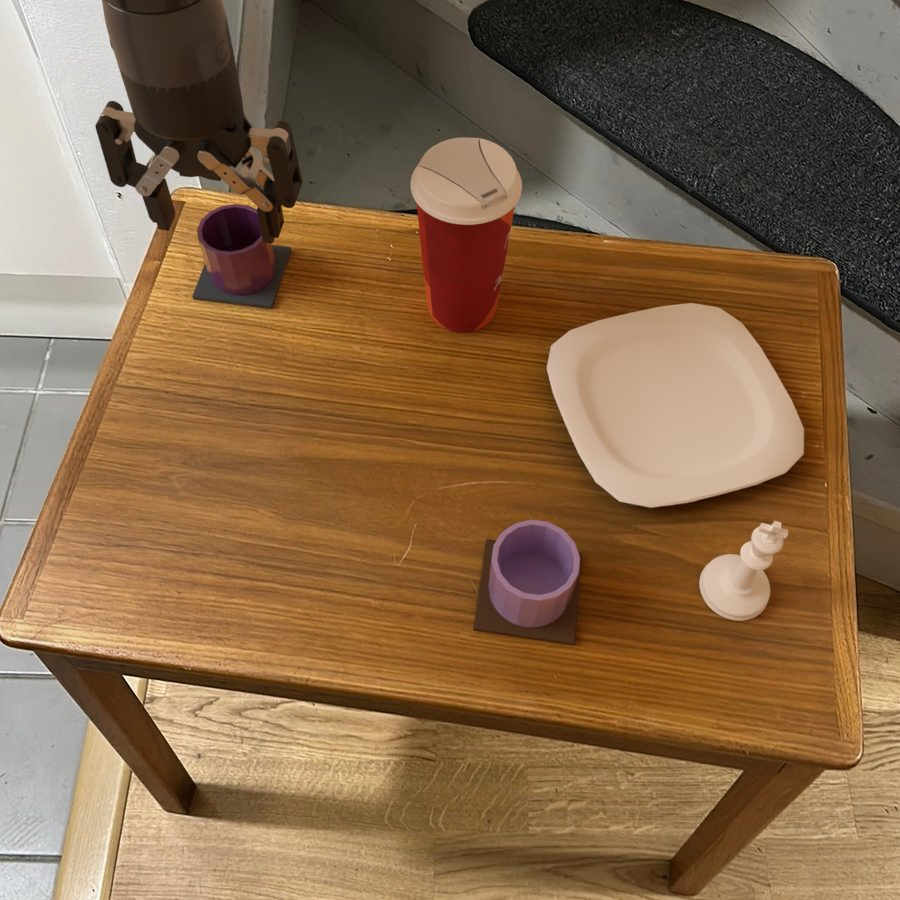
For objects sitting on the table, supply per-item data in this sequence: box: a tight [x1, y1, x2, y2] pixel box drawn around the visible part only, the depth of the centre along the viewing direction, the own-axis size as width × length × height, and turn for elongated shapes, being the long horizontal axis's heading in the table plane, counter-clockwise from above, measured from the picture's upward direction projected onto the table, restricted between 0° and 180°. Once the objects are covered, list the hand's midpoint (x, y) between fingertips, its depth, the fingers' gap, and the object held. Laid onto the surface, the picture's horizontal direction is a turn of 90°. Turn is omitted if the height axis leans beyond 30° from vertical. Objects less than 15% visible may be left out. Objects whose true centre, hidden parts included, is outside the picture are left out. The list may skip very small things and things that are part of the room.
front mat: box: [472, 538, 583, 646], centre depth 66 cm, size 7×7×1 cm
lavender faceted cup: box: [489, 519, 580, 627], centre depth 63 cm, size 6×6×5 cm
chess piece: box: [698, 520, 789, 622], centre depth 62 cm, size 5×5×10 cm
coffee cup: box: [410, 137, 523, 333], centre depth 73 cm, size 8×8×15 cm
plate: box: [546, 302, 805, 510], centre depth 73 cm, size 18×18×2 cm
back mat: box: [191, 244, 292, 310], centre depth 81 cm, size 7×7×1 cm
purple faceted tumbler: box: [196, 203, 276, 295], centre depth 79 cm, size 6×6×5 cm
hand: (219, 229), depth 74 cm, fingers open, 8 cm apart
